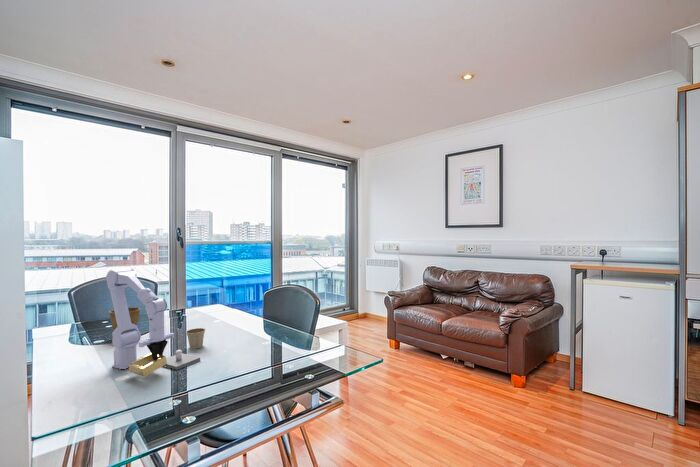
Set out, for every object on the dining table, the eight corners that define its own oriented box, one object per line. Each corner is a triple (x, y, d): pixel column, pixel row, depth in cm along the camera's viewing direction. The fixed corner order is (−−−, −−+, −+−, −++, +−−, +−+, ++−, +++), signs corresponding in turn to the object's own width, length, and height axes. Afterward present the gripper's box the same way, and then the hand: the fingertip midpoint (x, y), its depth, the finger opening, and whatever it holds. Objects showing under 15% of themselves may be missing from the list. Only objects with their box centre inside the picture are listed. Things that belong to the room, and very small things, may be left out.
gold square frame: (130, 372, 144) (128, 364, 143) (153, 359, 152) (151, 352, 152) (144, 376, 139) (142, 369, 138) (167, 363, 147) (165, 356, 147)
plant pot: (129, 341, 192) (129, 312, 192) (103, 341, 192) (102, 313, 192) (146, 333, 207) (145, 306, 207) (121, 333, 207) (121, 307, 207)
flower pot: (184, 351, 174) (184, 334, 174) (187, 345, 183) (187, 329, 183) (204, 349, 177) (204, 332, 177) (206, 343, 186) (206, 327, 186)
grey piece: (157, 364, 157) (156, 352, 157) (181, 356, 167) (180, 344, 167) (176, 370, 150) (176, 357, 150) (200, 360, 160) (199, 349, 160)
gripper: (145, 333, 140) (146, 366, 141) (178, 324, 153) (178, 354, 153) (135, 330, 144) (136, 363, 144) (168, 322, 156) (168, 352, 157)
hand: (157, 358), depth 149 cm, fingers closed on gold square frame
